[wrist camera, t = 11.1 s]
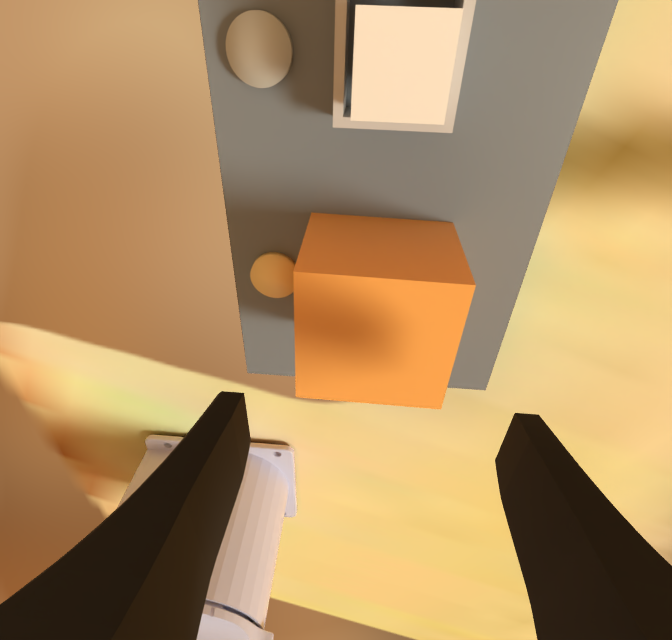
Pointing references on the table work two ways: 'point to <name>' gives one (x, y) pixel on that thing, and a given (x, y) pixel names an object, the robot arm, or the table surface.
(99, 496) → the table surface
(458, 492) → the table surface
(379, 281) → the orange block
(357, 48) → the button
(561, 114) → the breaker panel
